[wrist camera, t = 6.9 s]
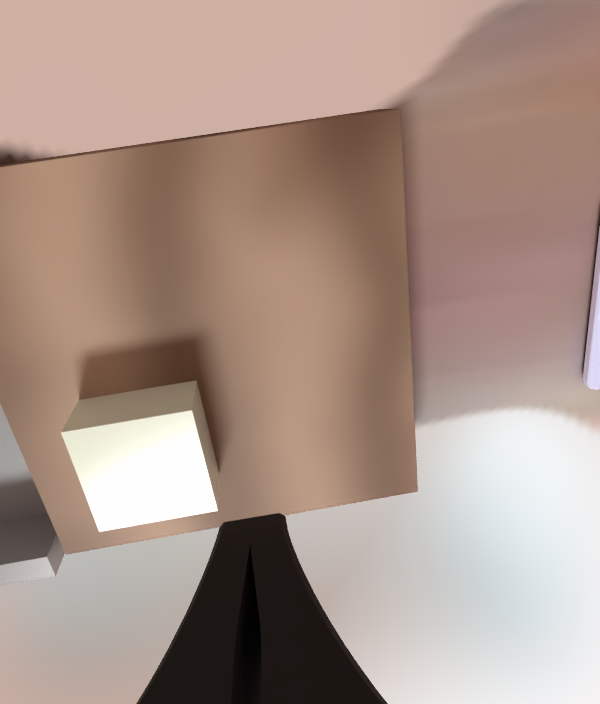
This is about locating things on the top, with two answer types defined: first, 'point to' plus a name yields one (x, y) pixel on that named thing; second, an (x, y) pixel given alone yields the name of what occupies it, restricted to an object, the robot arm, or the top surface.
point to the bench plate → (218, 310)
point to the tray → (23, 519)
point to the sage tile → (143, 455)
